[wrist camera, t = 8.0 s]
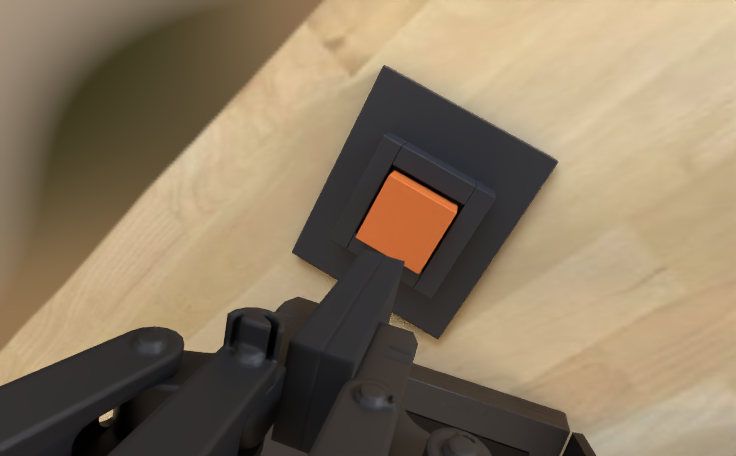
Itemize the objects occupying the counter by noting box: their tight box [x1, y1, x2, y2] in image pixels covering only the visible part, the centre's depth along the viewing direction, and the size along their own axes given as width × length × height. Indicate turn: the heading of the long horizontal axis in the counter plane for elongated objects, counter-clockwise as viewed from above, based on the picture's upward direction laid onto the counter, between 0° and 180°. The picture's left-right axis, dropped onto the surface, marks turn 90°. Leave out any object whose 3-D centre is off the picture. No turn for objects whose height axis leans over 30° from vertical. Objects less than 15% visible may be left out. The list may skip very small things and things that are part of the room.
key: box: [356, 170, 458, 274], centre depth 25 cm, size 4×4×2 cm
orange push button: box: [292, 65, 558, 339], centre depth 27 cm, size 13×11×3 cm
